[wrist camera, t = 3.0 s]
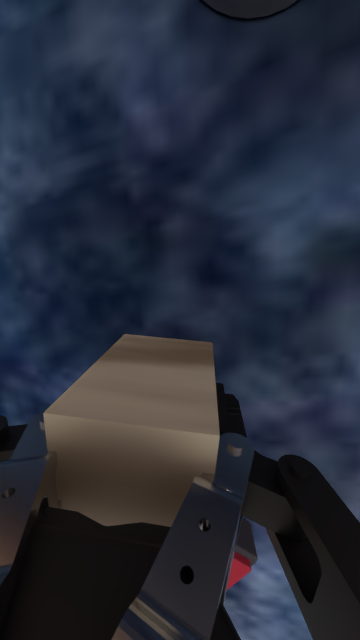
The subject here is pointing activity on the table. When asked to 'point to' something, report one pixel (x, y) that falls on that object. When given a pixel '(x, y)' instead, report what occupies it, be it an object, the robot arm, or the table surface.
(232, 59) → the table surface
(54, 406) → the maple block
